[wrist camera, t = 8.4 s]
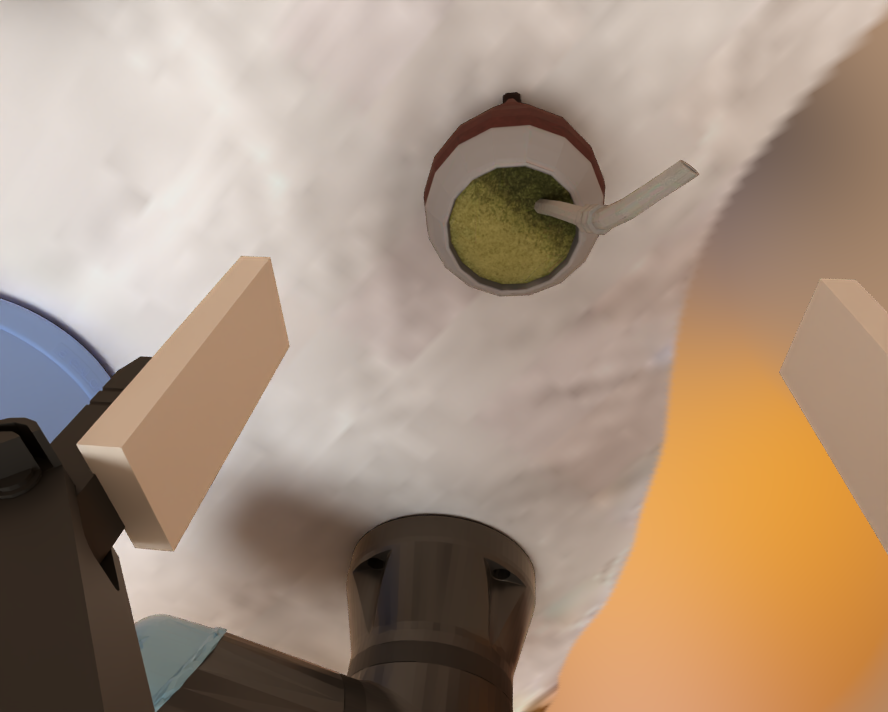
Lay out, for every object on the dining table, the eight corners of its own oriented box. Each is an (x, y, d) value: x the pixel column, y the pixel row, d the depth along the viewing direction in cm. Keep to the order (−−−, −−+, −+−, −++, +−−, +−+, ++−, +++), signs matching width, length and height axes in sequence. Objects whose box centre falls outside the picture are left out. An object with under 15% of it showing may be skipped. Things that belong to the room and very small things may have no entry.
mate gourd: (446, 236, 29) (397, 442, 17) (429, 67, 24) (347, 183, 12) (594, 229, 28) (655, 443, 16) (606, 51, 23) (703, 161, 11)
